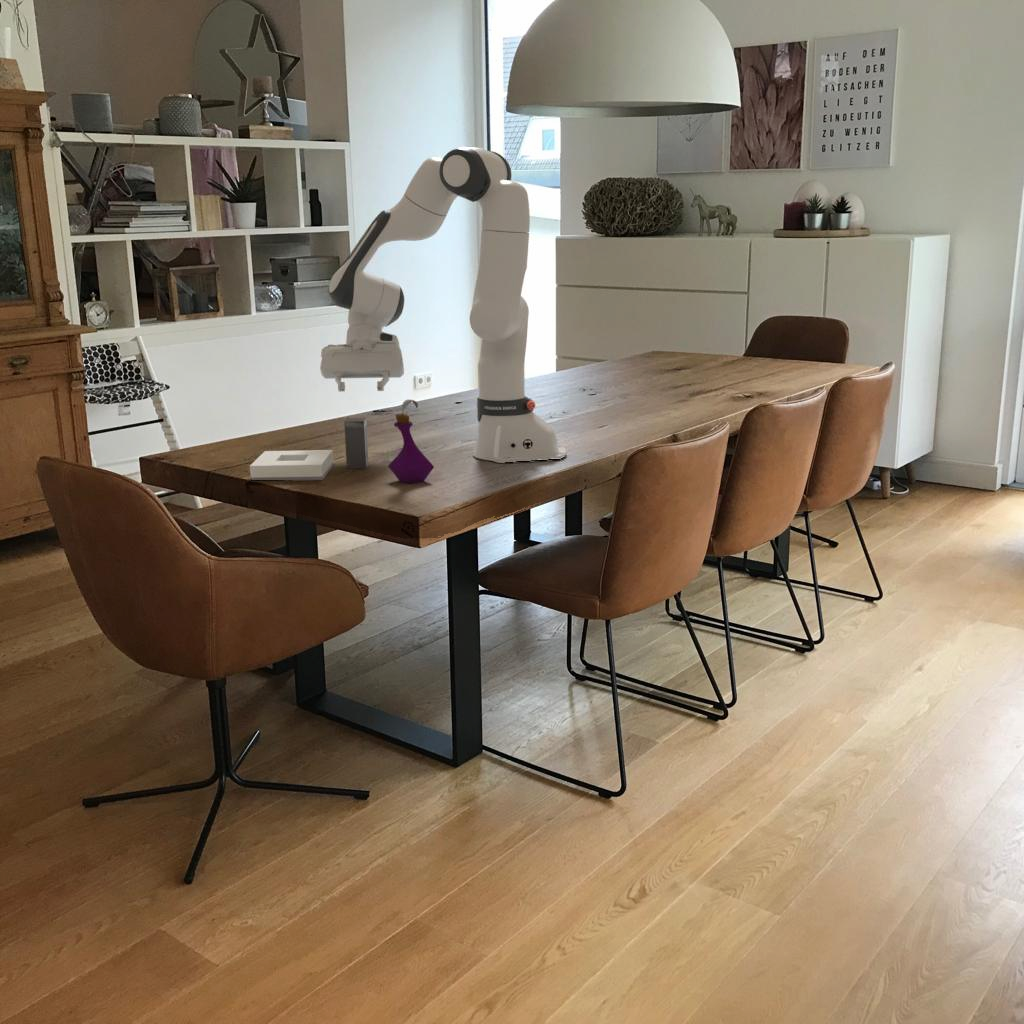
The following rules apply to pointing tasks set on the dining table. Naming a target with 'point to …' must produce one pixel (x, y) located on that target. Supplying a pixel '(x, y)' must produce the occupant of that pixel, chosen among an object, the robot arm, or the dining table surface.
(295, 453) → the socket block
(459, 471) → the dining table surface
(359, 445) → the plug
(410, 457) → the perfume bottle
